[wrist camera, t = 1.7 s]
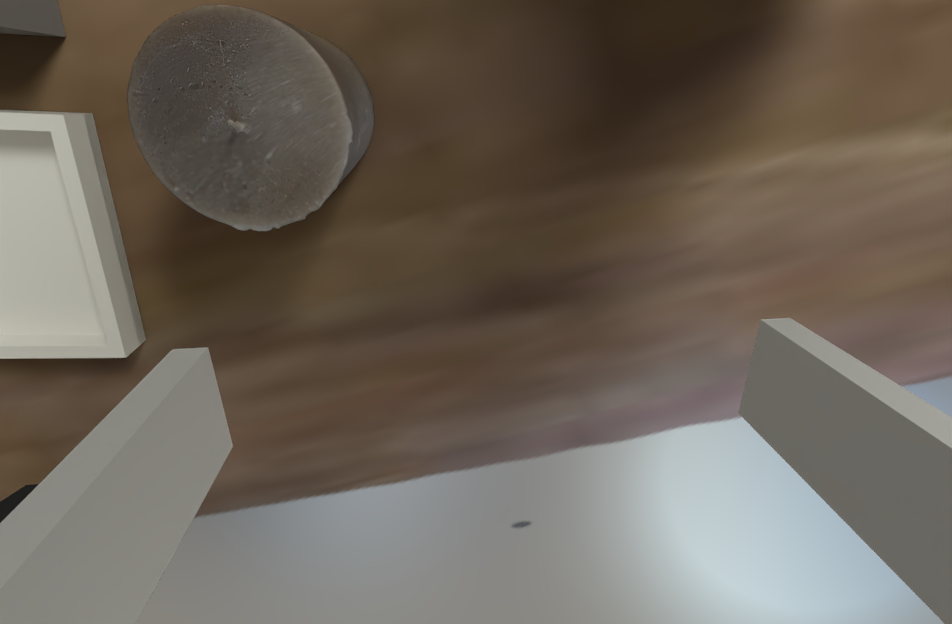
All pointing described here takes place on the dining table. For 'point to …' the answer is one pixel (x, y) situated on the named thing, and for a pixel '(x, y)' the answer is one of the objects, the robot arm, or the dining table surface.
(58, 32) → the grey open box
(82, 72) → the dining table surface
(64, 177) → the tray
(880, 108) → the dining table surface
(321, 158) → the pillar candle
